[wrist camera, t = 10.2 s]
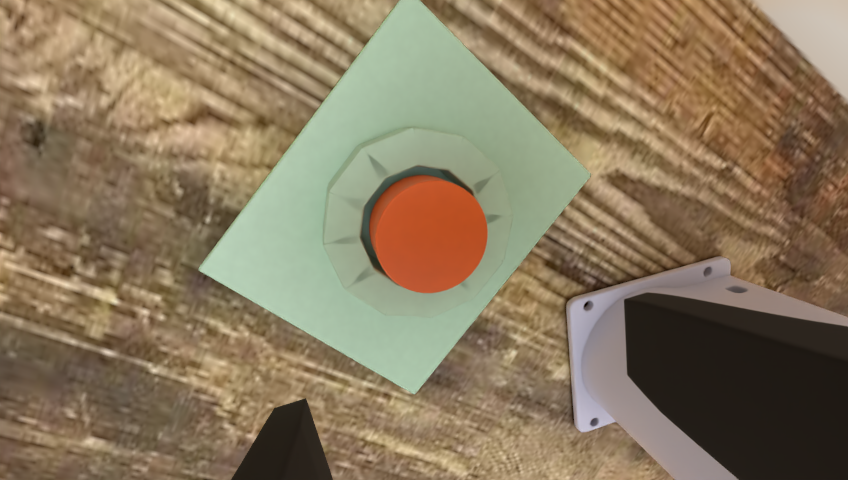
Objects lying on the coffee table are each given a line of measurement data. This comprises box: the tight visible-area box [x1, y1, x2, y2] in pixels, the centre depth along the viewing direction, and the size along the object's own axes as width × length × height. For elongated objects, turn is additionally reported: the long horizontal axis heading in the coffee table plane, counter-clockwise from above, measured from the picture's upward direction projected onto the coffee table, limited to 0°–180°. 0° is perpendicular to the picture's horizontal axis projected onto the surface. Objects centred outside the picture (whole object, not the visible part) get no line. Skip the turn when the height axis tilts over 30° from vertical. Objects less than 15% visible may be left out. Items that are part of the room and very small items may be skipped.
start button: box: [369, 175, 488, 293], centre depth 13 cm, size 4×4×2 cm
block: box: [199, 0, 591, 394], centre depth 15 cm, size 12×10×4 cm
